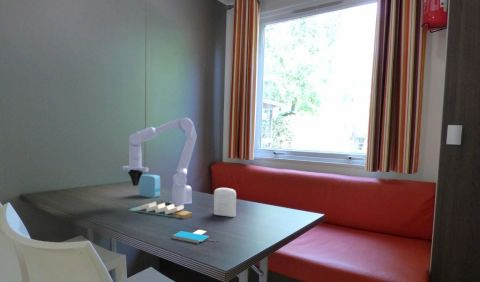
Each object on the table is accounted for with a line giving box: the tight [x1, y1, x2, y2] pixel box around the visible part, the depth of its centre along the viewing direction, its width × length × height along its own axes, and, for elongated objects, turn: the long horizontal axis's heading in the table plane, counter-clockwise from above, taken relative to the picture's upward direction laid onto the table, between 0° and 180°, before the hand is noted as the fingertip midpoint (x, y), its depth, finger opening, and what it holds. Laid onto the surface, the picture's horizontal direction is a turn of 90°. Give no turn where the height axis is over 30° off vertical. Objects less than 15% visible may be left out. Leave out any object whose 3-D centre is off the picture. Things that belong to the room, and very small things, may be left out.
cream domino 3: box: [155, 204, 175, 213], centre depth 134 cm, size 2×5×7 cm
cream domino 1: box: [136, 201, 158, 210], centre depth 138 cm, size 2×5×7 cm
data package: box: [138, 173, 161, 199], centre depth 167 cm, size 12×4×12 cm, turn 62°
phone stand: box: [172, 229, 219, 244], centre depth 107 cm, size 20×12×2 cm, turn 66°
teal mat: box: [128, 205, 178, 218], centre depth 136 cm, size 28×7×1 cm, turn 67°
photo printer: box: [213, 187, 237, 218], centre depth 132 cm, size 10×4×12 cm, turn 72°
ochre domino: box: [173, 209, 193, 220], centre depth 129 cm, size 2×5×7 cm
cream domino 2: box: [146, 202, 166, 212], centre depth 136 cm, size 2×5×7 cm
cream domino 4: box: [164, 204, 185, 215], centre depth 132 cm, size 2×5×7 cm
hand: (135, 185), depth 145 cm, fingers closed
